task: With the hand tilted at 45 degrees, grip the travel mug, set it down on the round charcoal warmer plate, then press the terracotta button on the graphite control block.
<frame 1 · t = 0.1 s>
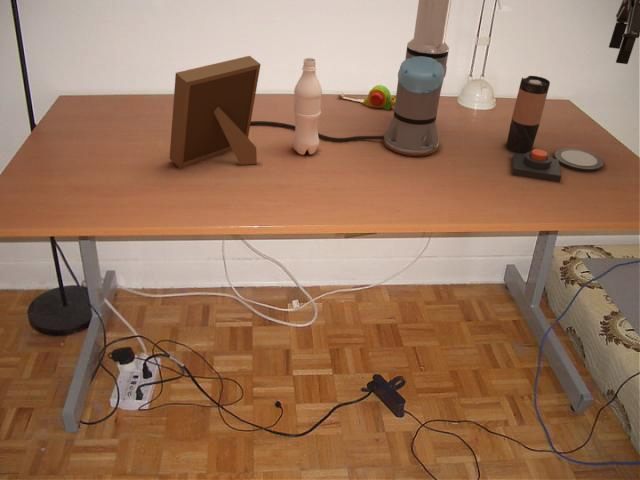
hand: (617, 55, 168), 28 cm above the table, tool pointing down, fingers open, 13 cm apart
toy measuring tape: (367, 104, 205), on the table
travel mug: (518, 148, 183), on the table
photo frame: (221, 161, 166), on the table
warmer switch: (534, 170, 171), on the table
start button: (538, 155, 169), point 4 cm above the table, slide at 0.1 cm
water bottle: (305, 151, 174), on the table
warmer plate: (577, 161, 178), on the table
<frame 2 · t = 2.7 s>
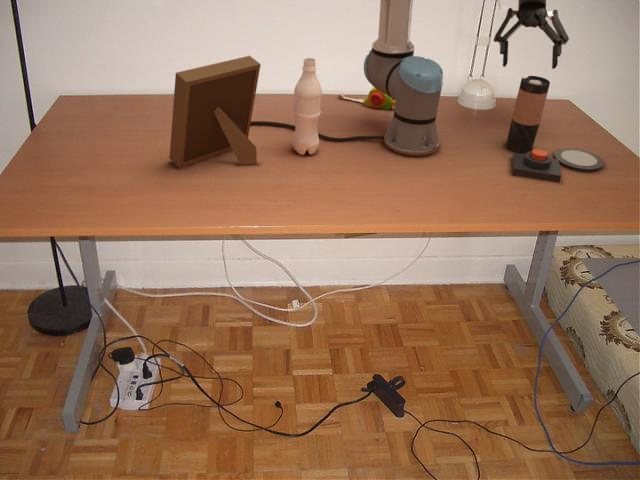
hand: (529, 65, 180), 21 cm above the table, tool tilted 40°, fingers open, 13 cm apart
nothing on the table moved.
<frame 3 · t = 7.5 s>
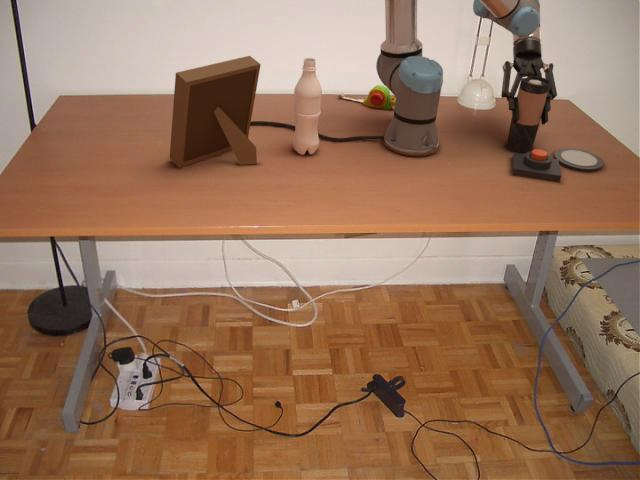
hand: (530, 121, 175), 10 cm above the table, tool tilted 45°, fingers closed on travel mug, 7 cm apart
travel mug: (518, 148, 183), on the table, touching gripper
everything else where it was.
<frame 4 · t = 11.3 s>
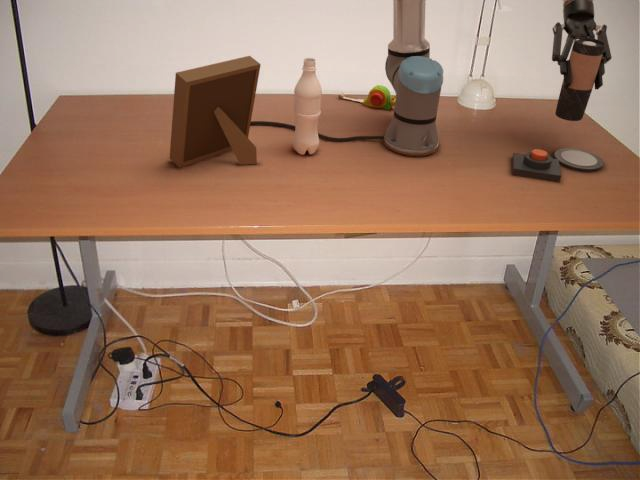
hand: (583, 86, 165), 22 cm above the table, tool tilted 45°, fingers closed on travel mug, 7 cm apart
travel mug: (568, 116, 173), point 12 cm above the table, touching gripper
everything else where it was.
when the fingers open (11 cm above the table, at t = 15.5 s): travel mug stays where it is, resting on warmer plate.
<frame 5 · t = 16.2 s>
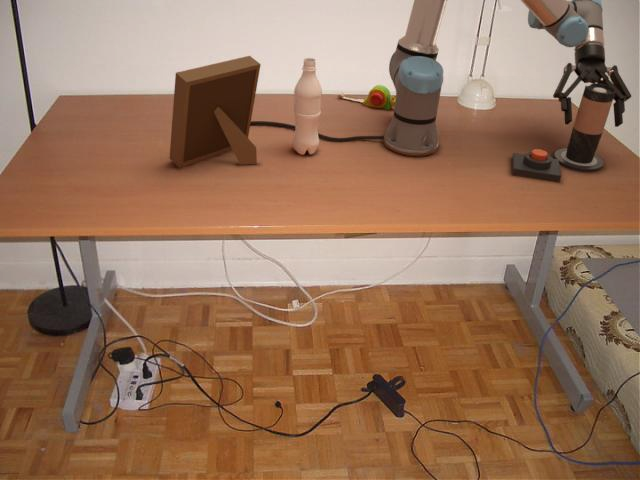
hand: (593, 123, 169), 12 cm above the table, tool tilted 45°, fingers open, 13 cm apart
travel mug: (578, 158, 177), point 1 cm above the table, touching warmer plate
everything else where it was.
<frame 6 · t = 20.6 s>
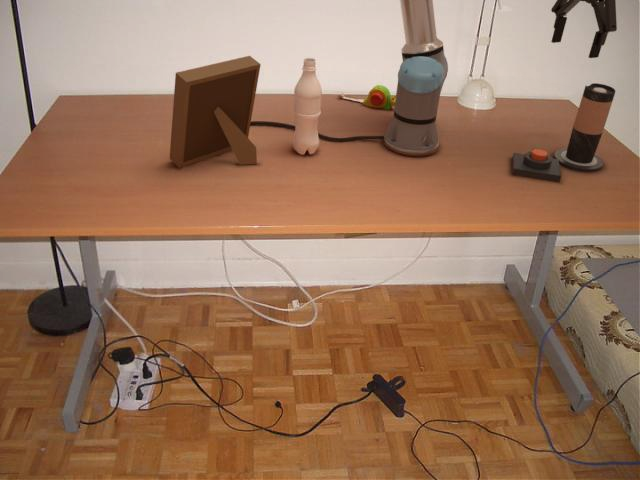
hand: (574, 49, 168), 28 cm above the table, tool pointing down, fingers open, 13 cm apart
nothing on the table moved.
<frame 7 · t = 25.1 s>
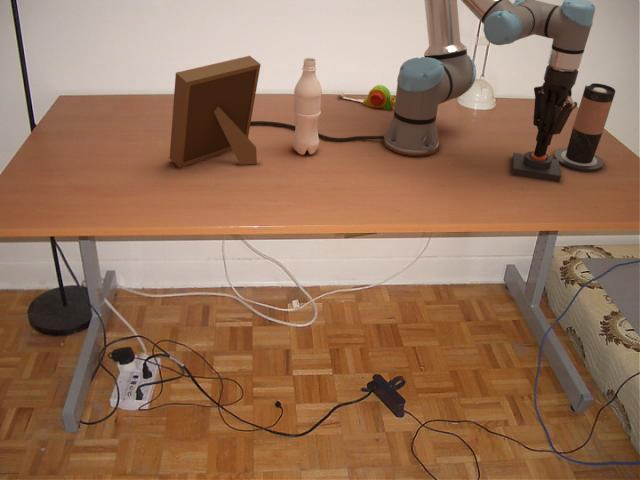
hand: (539, 154, 169), 5 cm above the table, tool pointing down, fingers closed
start button: (538, 158, 169), point 4 cm above the table, slide at -0.8 cm, touching gripper
everything else where it was.
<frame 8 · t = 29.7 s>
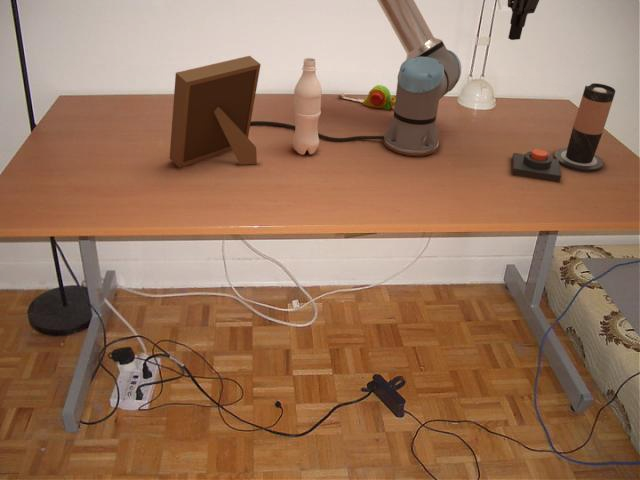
hand: (514, 38, 166), 30 cm above the table, tool pointing down, fingers closed
start button: (538, 155, 169), point 4 cm above the table, slide at 0.1 cm
everything else where it was.
at the end: travel mug 0.1 cm off-centre on the warmer plate, point 0.9 cm above the warmer plate's base; travel mug tilted 0°; start button pushed in 1.0 cm at the most during the clip, back to where it started at the end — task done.
